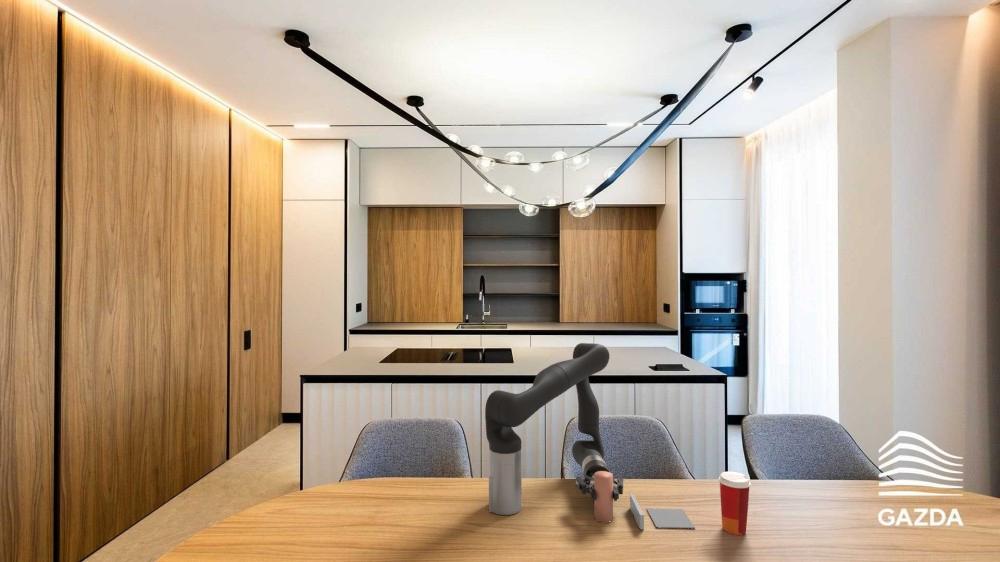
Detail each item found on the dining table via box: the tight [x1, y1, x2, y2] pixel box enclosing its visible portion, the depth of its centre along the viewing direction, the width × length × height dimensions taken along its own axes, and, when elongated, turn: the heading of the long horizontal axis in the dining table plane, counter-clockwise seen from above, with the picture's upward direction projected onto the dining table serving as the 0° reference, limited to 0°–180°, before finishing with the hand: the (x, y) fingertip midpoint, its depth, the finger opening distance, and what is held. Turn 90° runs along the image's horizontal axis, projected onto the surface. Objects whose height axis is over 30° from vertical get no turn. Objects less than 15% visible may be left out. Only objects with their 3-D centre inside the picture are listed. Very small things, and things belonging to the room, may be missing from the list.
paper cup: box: [717, 471, 752, 536], centre depth 130 cm, size 8×8×14 cm
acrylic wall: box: [629, 493, 645, 530], centre depth 136 cm, size 1×12×4 cm, turn 178°
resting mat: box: [646, 508, 696, 530], centre depth 136 cm, size 10×10×1 cm
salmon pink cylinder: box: [593, 471, 614, 523], centre depth 137 cm, size 5×5×12 cm
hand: (605, 497), depth 134 cm, fingers closed on salmon pink cylinder, 5 cm apart
